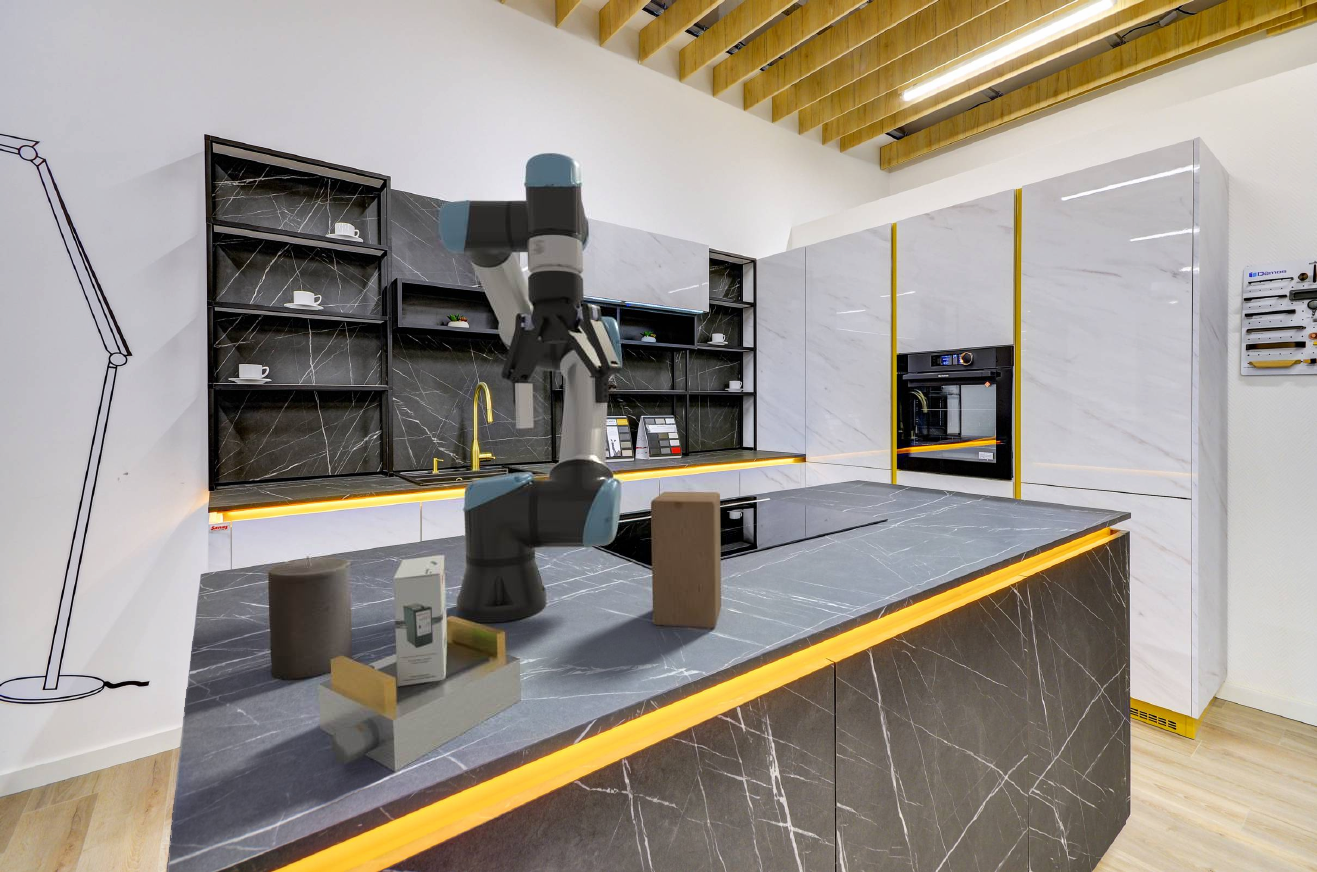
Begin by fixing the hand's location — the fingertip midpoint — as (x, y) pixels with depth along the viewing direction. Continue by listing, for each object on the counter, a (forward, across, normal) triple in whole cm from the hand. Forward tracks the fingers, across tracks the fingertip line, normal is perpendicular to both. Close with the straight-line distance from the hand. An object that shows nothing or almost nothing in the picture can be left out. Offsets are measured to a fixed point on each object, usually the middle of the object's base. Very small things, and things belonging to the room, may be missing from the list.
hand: (559, 428), depth 80 cm
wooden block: (+32, +8, +21) cm, 39 cm away
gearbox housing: (+32, -2, -23) cm, 39 cm away
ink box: (+26, -2, -21) cm, 34 cm away
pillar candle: (+32, -27, -21) cm, 47 cm away
